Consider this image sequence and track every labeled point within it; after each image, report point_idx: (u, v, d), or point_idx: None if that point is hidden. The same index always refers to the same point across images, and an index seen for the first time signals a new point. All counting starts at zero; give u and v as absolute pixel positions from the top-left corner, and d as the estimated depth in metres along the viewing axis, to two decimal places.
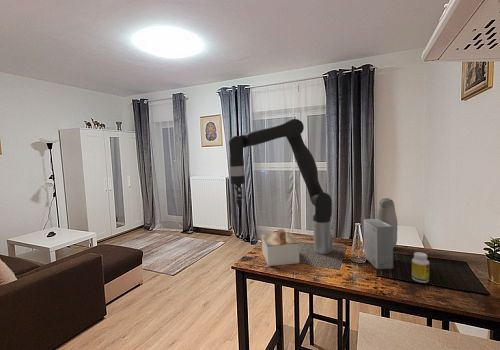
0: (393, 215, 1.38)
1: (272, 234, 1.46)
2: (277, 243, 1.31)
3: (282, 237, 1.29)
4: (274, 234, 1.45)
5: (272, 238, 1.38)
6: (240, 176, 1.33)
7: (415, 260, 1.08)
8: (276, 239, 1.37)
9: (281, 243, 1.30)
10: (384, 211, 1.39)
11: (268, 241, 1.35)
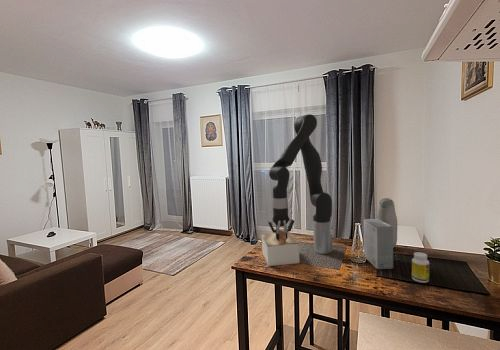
0: (393, 215, 1.38)
1: (272, 234, 1.46)
2: (277, 243, 1.31)
3: (282, 237, 1.29)
4: (274, 234, 1.45)
5: (272, 238, 1.38)
6: None
7: (415, 260, 1.08)
8: (276, 239, 1.37)
9: (281, 243, 1.30)
10: (384, 211, 1.39)
11: (268, 241, 1.35)
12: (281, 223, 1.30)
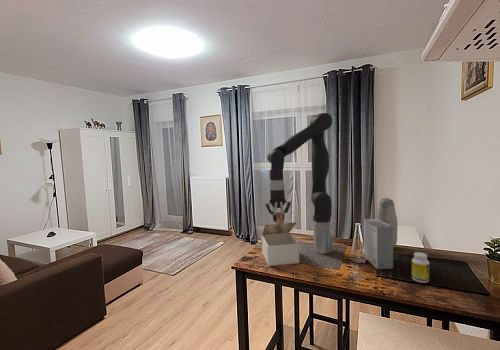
0: (393, 215, 1.38)
1: None
2: None
3: (279, 216, 1.33)
4: None
5: None
6: None
7: (415, 260, 1.08)
8: None
9: (279, 222, 1.32)
10: (384, 211, 1.39)
11: None
12: (278, 205, 1.35)
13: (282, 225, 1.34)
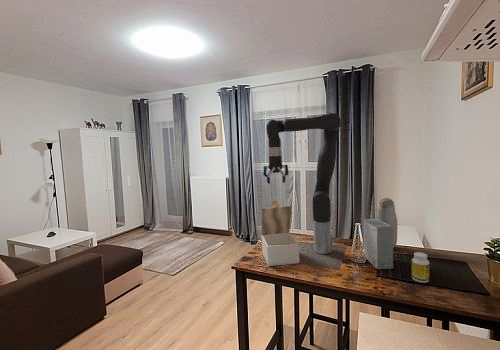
0: (393, 215, 1.38)
1: None
2: None
3: (275, 203, 1.43)
4: None
5: None
6: None
7: (415, 260, 1.08)
8: None
9: (275, 206, 1.40)
10: (384, 211, 1.39)
11: None
12: (276, 170, 1.49)
13: (278, 210, 1.40)
